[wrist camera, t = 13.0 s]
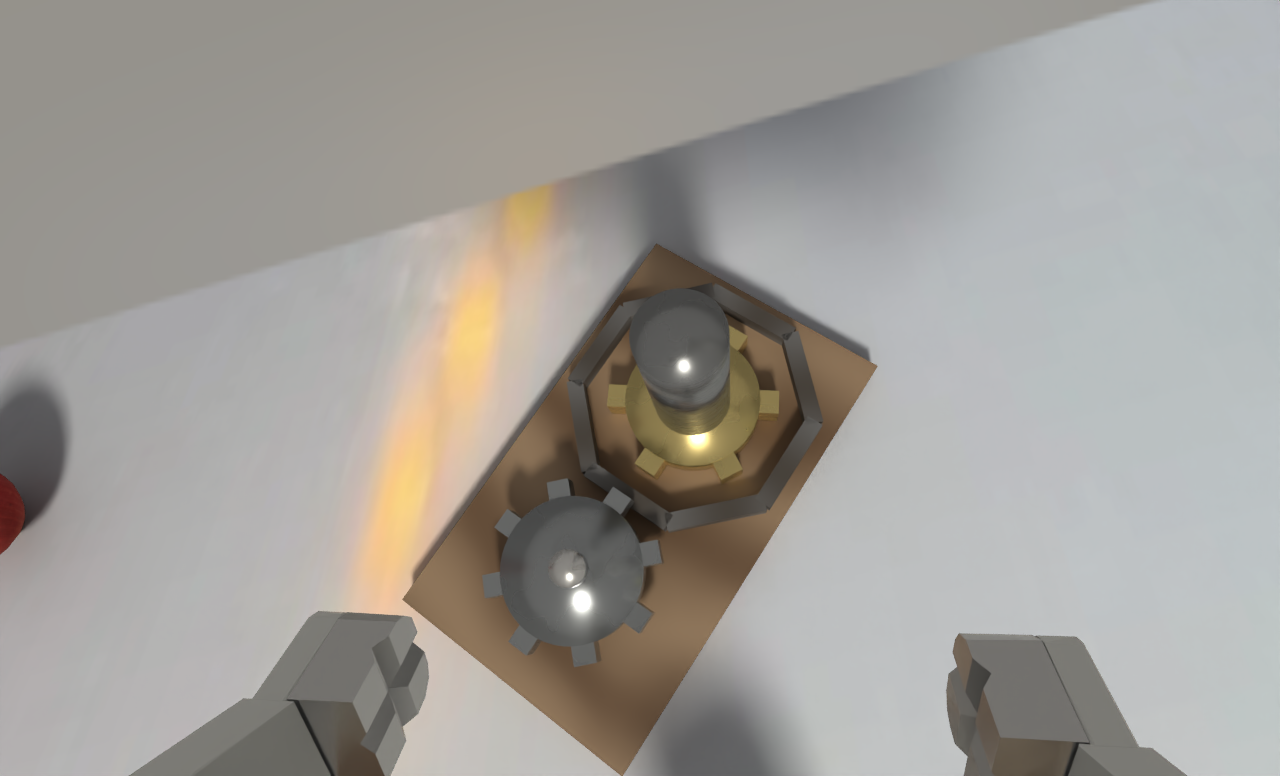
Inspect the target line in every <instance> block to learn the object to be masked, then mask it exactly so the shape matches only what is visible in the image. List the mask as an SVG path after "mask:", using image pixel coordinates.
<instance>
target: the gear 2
mask: <svg viewBox="0 0 1280 776" xmlns="http://www.w3.org/2000/svg"><path fill="white" fill-rule="evenodd" d="M747 341H748V336H747V335H745V334H743V333H741V332H740V331H738V330H736V329H735V328H733V327H731V326H729V324H728V321H727V318H726V316H725V313H724V312H723V310H722V309H721V307H720V306H719V305H718V304H717V303H716V302H715V301H714V300H713V299H712V298H710V297H709V296H707V295H706V294H704V293H702V292H699V291H696V290H692V289H685V288H676V289H669V290H666V291H663V292H660V293H658V294H656V295H654V296H652V297H651V298H650V299H648V300H647V301H646V302H645V303H644V304H643V305H642V306H641V307H640V308H639V309H638V311H637V312H636V314H635V316H634V318H633V320H632V323H631V326H630V332H629V342H630V348H631V351H632V354H633V356H634V359H635V361H636V363H637V365H636V366H635V368H634V370H633V371H632V373H631V376H630V378H629V381H628V384H627V385H615V384H609V390H608V401H607V407H608V408H609V410H610V412H611V413H613V414H627V418H628V421H629V424H630V426H631V429H632V430H633V432H634V434H635V436H636V437H637V439H638V441H639V442H640V444H641V445H642V446H643V448H644V450H643V451H642V453H641V454H640V456H639V457H638V459H637V460H636V462H635V465H636V466H637V467H638V469H640V470H641V471H643V472H644V473H646V474H647V475H649V476H650V477H652V478H653V479H655V480H658V479H659V477H660V476H661V474H662V473H663V471H664V470H665V468H666V467H667V465H668V466H670V467H673V468H676V469H680V470H688V471H700V470H707V469H711V468H713V469H714V471H715V473H716V475H717V476H718V478H719V480H720V482H721V484H724V483H726V482H728V481H730V480H732V479H734V478H736V477H738V476H740V475H742V473H743V468H742V467H741V465H740V463H739V461H738V459H737V457H736V455H738V454H739V453H740V452H741V451H742V450H743V449H744V447H745V446H746V445H747V443H748V442H749V441H750V439H751V437H752V435H753V434H754V431H755V428H756V426H757V422H758V420H769V421H777V418H778V415H779V391H770V390H760V389H759V383H758V380H757V377H756V375H755V373H754V371H753V369H752V367H751V365H750V364H749V362H748V361H747V360H746V359H745V357H744V356H743V355H742V353H743V352H744V350H745V349H746V347H747Z"/></svg>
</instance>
